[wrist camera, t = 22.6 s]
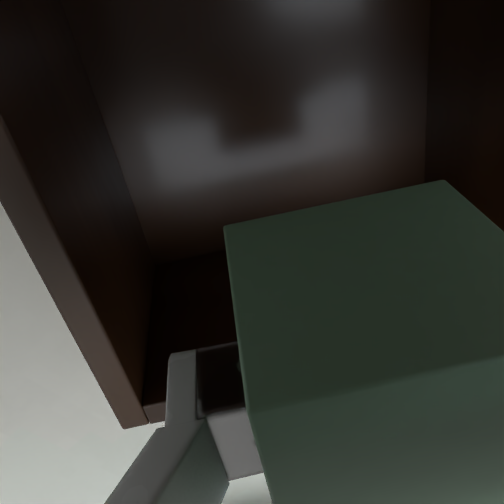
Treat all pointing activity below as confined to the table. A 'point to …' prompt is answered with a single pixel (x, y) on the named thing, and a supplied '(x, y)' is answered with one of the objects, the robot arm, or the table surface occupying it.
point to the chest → (222, 147)
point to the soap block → (374, 348)
